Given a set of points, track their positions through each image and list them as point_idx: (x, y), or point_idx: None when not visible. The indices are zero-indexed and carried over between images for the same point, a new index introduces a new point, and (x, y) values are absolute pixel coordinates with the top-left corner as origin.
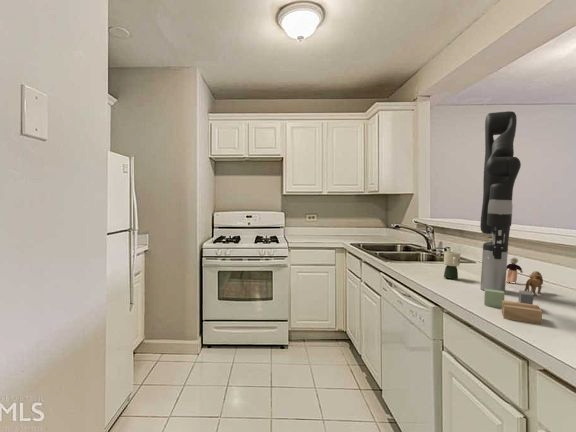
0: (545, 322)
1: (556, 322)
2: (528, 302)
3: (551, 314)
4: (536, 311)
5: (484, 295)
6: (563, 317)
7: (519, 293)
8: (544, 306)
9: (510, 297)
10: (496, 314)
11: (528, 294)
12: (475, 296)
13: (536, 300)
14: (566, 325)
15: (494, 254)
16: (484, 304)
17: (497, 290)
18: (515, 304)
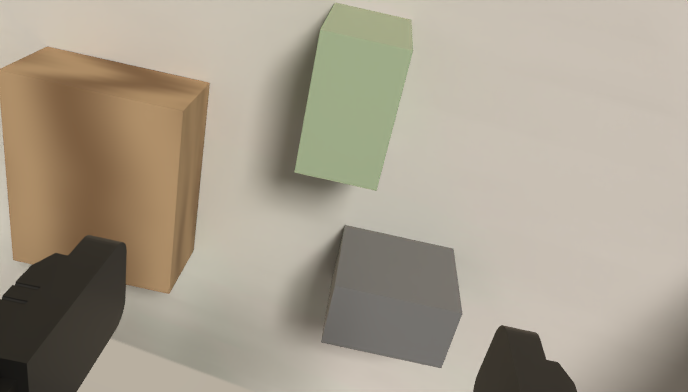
0: None
1: (144, 304)
2: (331, 288)
3: (297, 341)
4: (14, 233)
5: (407, 33)
6: (264, 370)
7: (435, 295)
8: (468, 374)
9: (660, 269)
10: (118, 25)
11: (337, 324)
12: (631, 4)
13: (611, 389)
14: None
15: (51, 273)
16: (334, 4)
17: (381, 146)
18: (99, 164)
